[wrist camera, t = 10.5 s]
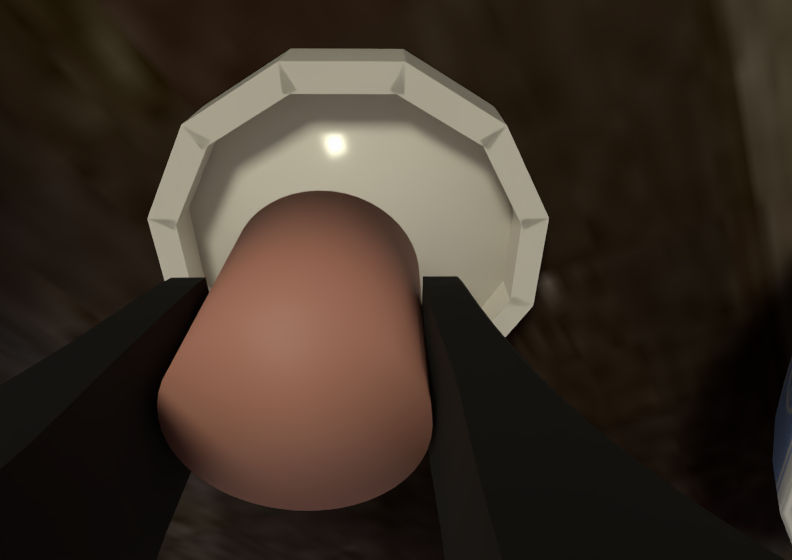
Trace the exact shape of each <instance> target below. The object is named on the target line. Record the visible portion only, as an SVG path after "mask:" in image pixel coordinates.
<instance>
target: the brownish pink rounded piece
mask: <svg viewBox="0 0 792 560" xmlns="http://www.w3.org/2000/svg"><path fill="white" fill-rule="evenodd" d="M157 412H158V420H159V424H160V427H161V431H162V433H163V435H164V437H165V439H166V442H167V443H168V445H169V446H170V448H171V449H172V451H173V452H174V454H175V455H176V456H177V457H178V458H179V460H180V461H181V462H182V463H183V464H184V465H185V466H186V467H187V468H188V469H190V470H191V471H192V472H193V473H194V474H195V475H197V476H198V477H199V478H201V479H202V480H204V481H205V482H206V483H208V484H210V485H212V486H213V487H215V488H217V489H219V490H221V491H223V492H225V493H227V494H229V495H231V496H234V497H236V498H239V499H242V500H245V501H248V502H251V503H255V504H259V505H262V506H267V507H273V508H278V509H287V510H301V511H315V510H329V509H336V508H342V507H347V506H351V505H356V504H359V503H362V502H365V501H368V500H371V499H373V498H375V497H377V496H380V495H382V494H384V493H386V492H387V491H389V490H391V489H392V488H394V487H396V486H397V485H398V484H400V483H401V482H402V481H404V480H405V479H406V478H407V477H408V476H409V475H410V474H411V473H412V472H413V471H414V470H415V469H416V467H417V466H418V465H419V463H420V462H421V461H422V459H423V457H424V455H425V453H426V451H427V449H428V446H429V443H430V440H431V435H432V428H433V423H432V409H431V398H430V387H429V376H428V364H427V353H426V344H425V334H424V323H423V312H422V297H421V286H420V275H419V265H418V260H417V256H416V253H415V250H414V248H413V245H412V243H411V241H410V239H409V238H408V236H407V234H406V233H405V232H404V230H403V229H402V228H401V226H400V225H399V224H398V223H397V222H396V221H395V220H394V219H393V218H392V217H391V216H390V215H388V214H387V213H386V212H384V211H383V210H382V209H380V208H379V207H377V206H375V205H374V204H372V203H370V202H368V201H366V200H363V199H361V198H359V197H356V196H352V195H349V194H346V193H340V192H334V191H319V190H317V191H305V192H300V193H295V194H291V195H288V196H285V197H282V198H280V199H278V200H276V201H274V202H272V203H270V204H268V205H267V206H265V207H264V208H262V209H261V210H260V211H258V212H257V213H256V214H255V215H254V216H253V217H252V218H251V219H250V220H249V222H248V223H247V224H246V226H245V227H244V228H243V230H242V232H241V234H240V236H239V238H238V239H237V241H236V243H235V245H234V247H233V249H232V251H231V252H230V254H229V256H228V258H227V260H226V262H225V264H224V266H223V267H222V269H221V271H220V273H219V275H218V277H217V279H216V281H215V282H214V284H213V286H212V288H211V290H210V292H209V294H208V296H207V297H206V299H205V301H204V303H203V305H202V307H201V309H200V310H199V312H198V314H197V316H196V318H195V320H194V322H193V324H192V325H191V327H190V329H189V331H188V333H187V335H186V337H185V339H184V340H183V342H182V344H181V346H180V348H179V350H178V352H177V353H176V355H175V357H174V359H173V361H172V363H171V365H170V367H169V368H168V370H167V372H166V374H165V376H164V378H163V380H162V383H161V386H160V389H159V392H158V400H157Z"/></svg>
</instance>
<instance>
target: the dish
mask: <svg viewBox="0 0 792 560" xmlns="http://www.w3.org/2000/svg"><path fill="white" fill-rule="evenodd" d="M317 190H319V191H334V192H340V193H346V194H349V195H352V196H356V197H359V198H361V199H363V200H366V201H368V202H370V203H372V204H374V205H375V206H377V207H379V208H380V209H382V210H383V211H384V212H386V213H387V214H388V215H390V216H391V217H392V218H393V219H394V220H395V221H396V222H397V223H398V224H399V225H400V226H401V228H402V229H403V230H404V232H405V233H406V234H407V236H408V238H409V239H410V241H411V243H412V245H413V248H414V250H415V253H416V256H417V260H418V265H419V275H420V286H421V297H422V288H423V276H458V277H459V278H460V280H461V281H462V282H463V283H464V284H465V286H466V287H467V289H468V290H469V292H470V293H471V294H472V296H473V297H474V299H475V300H476V301H477V303H478V304H479V305H480V307H481V308H482V309H483V311H484V312H485V313H486V315H487V316H488V317H489V319H490V320H491V321H492V322H493V324H494V325H495V326H496V327H497V329H498V330H499V331H500V332H501V333H502V335H503V336H504V337H506V336H507V335H508V334H509V333H510V331H511V330H512V329H513V328H514V327H515V326H516V325H517V324H518V322H519V321H520V320H521V319H522V318H523V317H524V316H525V314H526V313H527V312H528V311H529V310H530V309H531V308H532V307H533V304H534V299H535V293H536V287H537V282H538V276H539V271H540V265H541V260H542V254H543V249H544V243H545V238H546V232H547V226H548V221H549V217H548V215H547V213H546V211H545V209H544V206H543V204H542V202H541V200H540V197H539V195H538V193H537V191H536V189H535V186H534V184H533V182H532V180H531V178H530V175H529V173H528V171H527V169H526V167H525V164H524V162H523V160H522V158H521V156H520V153H519V151H518V149H517V147H516V145H515V142H514V140H513V138H512V136H511V134H510V131H509V129H508V127H507V125H506V124H505V122H504V121H503V119H502V118H501V116H500V115H499V113H498V112H497V110H496V109H495V107H494V106H492V105H491V104H489V103H488V102H486V101H484V100H483V99H481V98H480V97H478V96H477V95H475V94H473V93H472V92H470V91H469V90H467V89H465V88H464V87H462V86H461V85H459V84H458V83H456V82H454V81H453V80H451V79H450V78H448V77H447V76H445V75H443V74H442V73H440V72H439V71H437V70H435V69H434V68H432V67H431V66H429V65H428V64H426V63H424V62H423V61H421V60H420V59H418V58H417V57H415V56H413V55H412V54H410V53H409V52H407V51H406V50H404V49H289V50H288V51H286V52H285V53H283V54H282V55H280V56H279V57H277V58H276V59H274V60H273V61H271V62H270V63H268V64H267V65H265V66H264V67H262V68H261V69H259V70H258V71H256V72H255V73H253V74H252V75H250V76H249V77H247V78H245V79H244V80H242V81H241V82H239V83H238V84H236V85H235V86H233V87H232V88H230V89H229V90H227V91H226V92H224V93H223V94H221V95H220V96H218V97H217V98H215V99H214V100H212V101H211V102H209V103H208V104H206V105H205V106H203V107H202V108H201V109H200V110H198V111H197V112H196V113H195V114H194V115H193V116H191V117H190V118H189V119H188V120H187V121H185V122H184V123H183V124H182V125H181V127H180V130H179V133H178V136H177V138H176V141H175V144H174V147H173V149H172V152H171V155H170V158H169V160H168V163H167V166H166V169H165V172H164V174H163V177H162V180H161V183H160V185H159V188H158V191H157V194H156V196H155V199H154V202H153V205H152V207H151V210H150V213H149V216H148V223H149V226H150V230H151V233H152V237H153V240H154V244H155V248H156V251H157V255H158V258H159V262H160V266H161V269H162V273H163V276H164V280H165V281H166V280H168V279H170V278H184V277H206V281H207V285H208V290H209V292H210V290H211V288H212V286H213V284H214V282H215V281H216V279H217V277H218V275H219V273H220V271H221V269H222V267H223V266H224V264H225V262H226V260H227V258H228V256H229V254H230V252H231V251H232V249H233V247H234V245H235V243H236V241H237V239H238V238H239V236H240V234H241V232H242V230H243V228H244V227H245V226H246V224H247V223H248V222H249V220H250V219H251V218H252V217H253V216H254V215H255V214H256V213H257V212H258V211H260V210H261V209H262V208H264V207H265V206H267V205H268V204H270V203H272V202H274V201H276V200H278V199H280V198H282V197H285V196H288V195H291V194H295V193H300V192H305V191H317Z"/></svg>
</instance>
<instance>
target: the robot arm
mask: <svg viewBox="0 0 792 560" xmlns="http://www.w3.org/2000/svg"><path fill="white" fill-rule="evenodd" d="M208 294H209V290H208V285H207V281H206V277H184V278H170V279H168V280H166V281H164V282H162V283H160V284H159V285H157V286H155V287H154V288H152V289H151V290H149V291H148V292H146V293H145V294H143V295H141V296H140V297H138V298H137V299H135V300H134V301H132V302H131V303H129V304H128V305H126V306H125V307H123V308H122V309H120V310H119V311H117V312H116V313H115V314H113V315H111V316H110V317H108V318H107V319H105V320H104V321H102V322H101V323H99V324H98V325H96V326H95V327H93V328H92V329H90V330H89V331H87V332H86V333H84V334H83V335H81V336H80V337H78V338H77V339H75V340H74V341H72V342H71V343H69V344H68V345H66V346H64V347H63V348H61V349H60V350H58V351H56V352H55V353H53V354H51V355H50V356H48V357H47V358H45V359H43V360H42V361H40V362H38V363H37V364H35V365H33V366H32V367H30V368H29V369H27V370H25V371H24V372H22V373H20V374H19V375H17V376H16V377H14V378H12V379H11V380H9V381H7V382H6V383H4V384H2V385H1V386H0V560H156V559H157V556H158V553H159V551H160V548H161V545H162V542H163V539H164V537H165V534H166V531H167V529H168V526H169V524H170V522H171V519H172V517H173V514H174V512H175V509H176V507H177V505H178V502H179V500H180V497H181V495H182V492H183V490H184V487H185V485H186V483H187V480H188V478H189V475H190V473H191V470H190V469H188V468H187V467H186V466H185V465H184V464H183V463H182V462H181V461H180V460H179V458H178V457H177V456H176V455H175V454H174V452H173V451H172V449H171V448H170V446H169V445H168V443H167V442H166V439H165V437H164V435H163V433H162V431H161V427H160V424H159V420H158V412H157V400H158V392H159V389H160V386H161V383H162V380H163V378H164V376H165V374H166V372H167V370H168V368H169V367H170V365H171V363H172V361H173V359H174V357H175V355H176V353H177V352H178V350H179V348H180V346H181V344H182V342H183V340H184V339H185V337H186V335H187V333H188V331H189V329H190V327H191V325H192V324H193V322H194V320H195V318H196V316H197V314H198V312H199V310H200V309H201V307H202V305H203V303H204V301H205V299H206V297H207V296H208ZM422 312H423V323H424V334H425V344H426V353H427V364H428V376H429V387H430V398H431V409H432V423H433V428H432V435H431V440H430V443H429V446H428V453H429V460H430V466H431V472H432V478H433V485H434V491H435V497H436V503H437V510H438V516H439V522H440V528H441V536H442V545H443V553H444V560H785V559H783V558H781V557H779V556H778V555H776V554H774V553H773V552H771V551H770V550H768V549H766V548H765V547H763V546H762V545H760V544H758V543H757V542H755V541H754V540H752V539H751V538H749V537H748V536H746V535H745V534H743V533H741V532H740V531H738V530H737V529H735V528H734V527H732V526H731V525H729V524H727V523H726V522H724V521H723V520H721V519H720V518H718V517H717V516H715V515H714V514H712V513H710V512H709V511H707V510H706V509H704V508H703V507H701V506H700V505H698V504H697V503H696V502H694V501H693V500H691V499H690V498H688V497H687V496H685V495H684V494H683V493H681V492H680V491H678V490H677V489H675V488H674V487H672V486H671V485H670V484H668V483H667V482H665V481H664V480H663V479H661V478H660V477H659V476H657V475H656V474H655V473H653V472H652V471H651V470H649V469H648V468H647V467H645V466H644V465H643V464H641V463H640V462H638V461H637V460H636V459H634V458H633V457H632V456H630V455H629V454H628V453H626V452H625V451H624V450H622V449H621V448H620V447H619V446H617V445H616V444H615V443H614V442H612V441H611V440H610V439H609V438H607V437H606V436H605V435H604V434H602V433H601V432H600V431H599V430H598V429H596V428H595V427H594V426H593V425H592V424H591V423H589V422H588V421H587V420H586V419H585V418H584V417H583V416H581V415H580V414H579V413H578V412H577V411H576V410H575V409H573V408H572V407H571V406H570V405H569V404H568V403H567V402H566V401H565V400H563V399H562V398H561V397H560V396H559V395H558V394H557V393H556V392H555V391H554V390H553V389H552V388H551V387H550V386H549V385H548V384H547V383H546V382H545V381H544V380H543V379H542V378H541V377H540V376H539V375H538V374H537V373H536V372H535V370H534V369H533V368H532V367H531V366H530V365H529V364H528V363H527V362H526V361H525V360H524V359H523V358H522V356H521V355H520V354H519V353H518V352H517V351H516V350H515V349H514V347H513V346H512V345H511V344H510V343H509V342H508V340H507V339H506V338H505V337H504V336H503V335H502V333H501V332H500V331H499V330H498V329H497V327H496V326H495V325H494V324H493V322H492V321H491V320H490V319H489V317H488V316H487V315H486V313H485V312H484V311H483V309H482V308H481V307H480V305H479V304H478V303H477V301H476V300H475V299H474V297H473V296H472V294H471V293H470V292H469V290H468V289H467V287H466V286H465V284H464V283H463V282H462V281H461V280H460V278H459V277H458V276H423V288H422Z"/></svg>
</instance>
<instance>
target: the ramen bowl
mask: <svg viewBox="0 0 792 560" xmlns="http://www.w3.org/2000/svg"><path fill="white" fill-rule="evenodd" d="M773 468H774V475H775V482H776V489H777V496H778V503H779V510H780V515H781V518H782V520H783V523H784V525H785V528H786V530H787V533H788V536H789V538H790V541H791V543H792V357H791V361H790V364H789V367H788V371H787V374H786V378H785V381H784V385H783V389H782V392H781V396H780V400H779V404H778V408H777V412H776V416H775V430H774V447H773Z"/></svg>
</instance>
